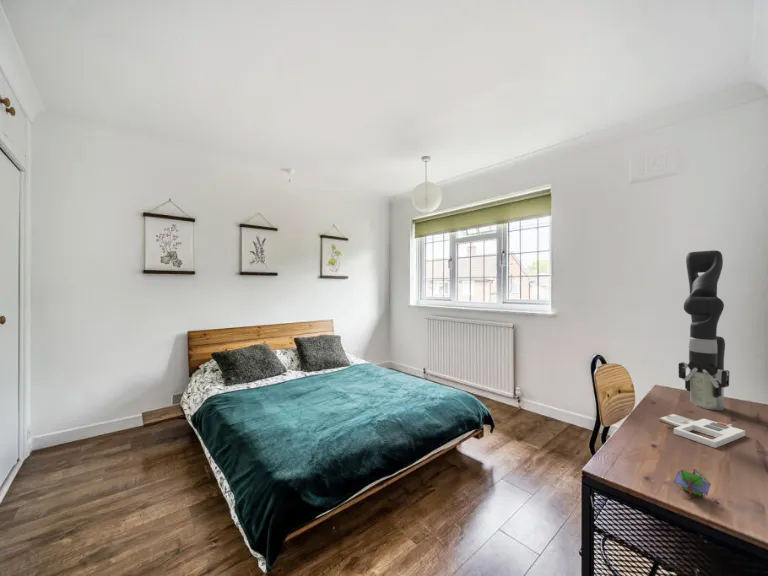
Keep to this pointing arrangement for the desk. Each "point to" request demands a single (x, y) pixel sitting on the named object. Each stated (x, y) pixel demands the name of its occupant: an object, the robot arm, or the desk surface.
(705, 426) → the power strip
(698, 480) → the geometric puzzle
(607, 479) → the desk surface
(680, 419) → the cream flat rectangular plate
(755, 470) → the desk surface
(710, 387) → the skincare box
